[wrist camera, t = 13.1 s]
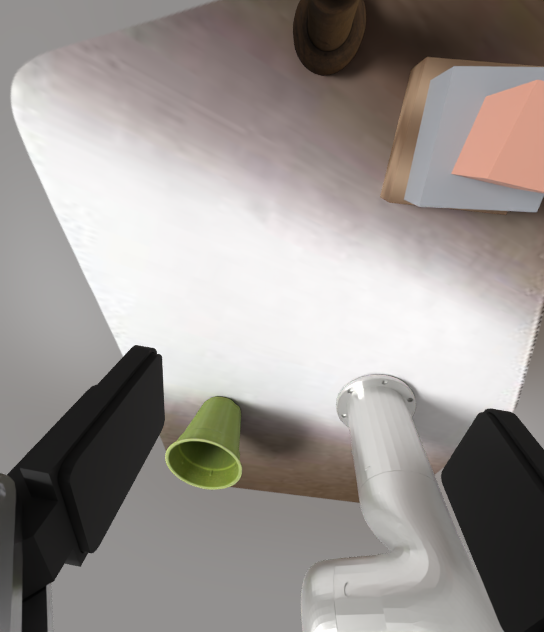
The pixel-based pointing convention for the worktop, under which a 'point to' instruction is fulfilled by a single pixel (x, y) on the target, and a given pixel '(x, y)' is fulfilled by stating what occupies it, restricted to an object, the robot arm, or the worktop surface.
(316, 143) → the worktop surface
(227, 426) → the plant pot
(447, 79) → the upper block
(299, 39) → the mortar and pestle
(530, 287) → the worktop surface
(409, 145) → the lower block
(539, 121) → the pink cube
